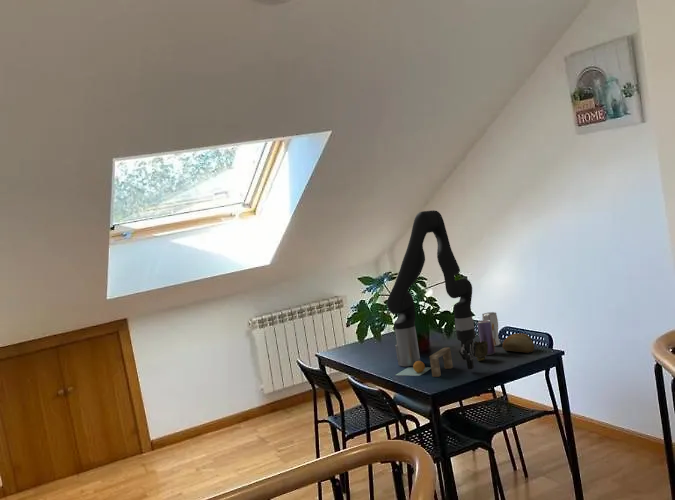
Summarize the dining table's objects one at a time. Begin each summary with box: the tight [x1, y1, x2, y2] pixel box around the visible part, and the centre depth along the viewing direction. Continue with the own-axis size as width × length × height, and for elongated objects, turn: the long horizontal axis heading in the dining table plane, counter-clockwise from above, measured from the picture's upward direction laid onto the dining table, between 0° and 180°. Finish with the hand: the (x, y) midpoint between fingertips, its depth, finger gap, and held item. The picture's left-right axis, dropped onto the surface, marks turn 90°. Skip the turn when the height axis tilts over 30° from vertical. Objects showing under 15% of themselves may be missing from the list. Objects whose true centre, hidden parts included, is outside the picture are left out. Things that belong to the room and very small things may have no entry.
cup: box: [473, 340, 488, 362], centre depth 317 cm, size 8×7×8 cm
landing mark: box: [394, 366, 431, 377], centre depth 316 cm, size 12×12×1 cm
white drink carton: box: [481, 311, 501, 347], centre depth 342 cm, size 7×7×15 cm
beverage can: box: [477, 319, 496, 356], centre depth 327 cm, size 6×6×15 cm
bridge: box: [428, 347, 454, 378], centre depth 308 cm, size 3×14×9 cm, turn 146°
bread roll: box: [502, 332, 535, 354], centre depth 323 cm, size 10×15×8 cm, turn 46°
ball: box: [412, 360, 426, 373], centre depth 313 cm, size 5×5×5 cm
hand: (470, 368), depth 301 cm, fingers closed
